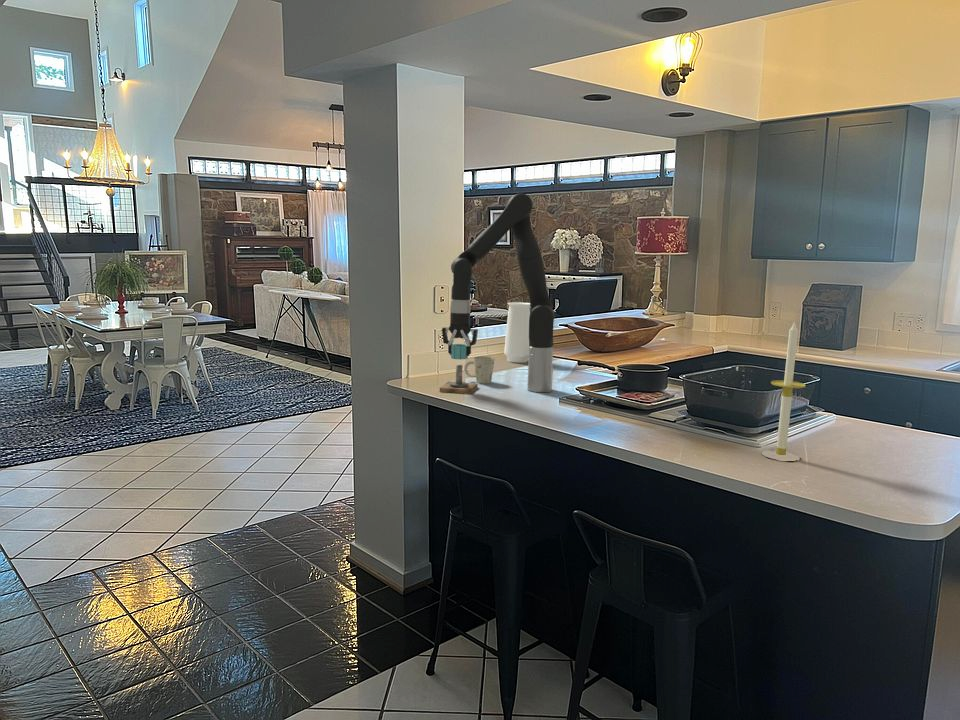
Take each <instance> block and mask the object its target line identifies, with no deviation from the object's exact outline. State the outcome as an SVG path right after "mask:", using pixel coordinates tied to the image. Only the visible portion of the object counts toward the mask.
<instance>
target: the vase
mask: <svg viewBox="0 0 960 720" xmlns="http://www.w3.org/2000/svg"><path fill="white" fill-rule="evenodd" d="M507 305H508V310H507V318H506V319H507V321H506V327H505V329H506V330H505V339H504V340H505V341H504V350H503V351H504V352H503V353H504V355H505V356H506V360H507V362H509V363H514V364H515V363H516V364H517V363H518V364H519V363H522V364H523V363H527V362H528V361H529V316H530V312H531V305H530V302H518V301H514V302H513V301H512V302H507Z"/></svg>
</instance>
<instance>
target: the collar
mask: <svg viewBox="0 0 960 720" xmlns="http://www.w3.org/2000/svg"><path fill="white" fill-rule="evenodd" d="M466 347H467V344H466V343H452V345H451V355H450V358H451V359H452V360H467V359H468V357H469V356H466Z"/></svg>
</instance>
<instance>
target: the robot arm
mask: <svg viewBox="0 0 960 720" xmlns="http://www.w3.org/2000/svg"><path fill="white" fill-rule="evenodd" d="M533 206H534V205H533V200H532V199H531V197H530V195H527V194H525V193H521V192H519V193H515V194H514V195H512V196H511V197H510V198H509V199H508V200H507V202H506V205H505V208H504V210H503V211H502V212H501V213H500V214H499V216H498V217H497V218H495V220H494V221H493V222H492V223H491V224H489V226H488V227H486V228H485V229H484V230H483V231H482V232H481V233H480V234H479V235H478V236H477V237H476V238H474V240H473V241H472V242H471V243H470V245H469V246H467V248H466V249H465V250H464V251H462V252H460V254H459V255H458V256H457V257H455V259H454V260H453V261H452V263H451V265H450V269H451V273H452V274H453V275H452V276H453V279H452V281H453V284H452V286H451V298H450V299H451V300H450V307H449V308H450V309H449V311H450V315H449V317H450V318H449V319H450V321H449V322H450V323H449V327H446V326H445V327H442V328H441V333H442V341H443V344H446V345H448V346H447V347H448V348H447V351H448V354H449V356H451V345H452V344H454V341H455V339H459V338H460V339H463V340H464V342H465V344H466V345H467V347H466V356H468V357H469V356H470V355H471V353H472V346H474V345H476V344H477V339H478V334H479V329H478V328H471V282H472V275H473V273H472V272H473V267H474V266H475V265H476V264H478V263H479V261H481V260H483V259H485V257H486V256H487V255H488V254H489V252H490V251H492V249H494V247H495V246H497V244H498V243H500V241H501V239H503V237H504V236H505V235H506V234H507V233H509V231H510V230H512V232H513V237H514V239H513V240H514V245H515V252H516V258H517V261H518V263H517V264H518V267H519V271H520V275H521V277H522V281H523V284H524V286H525V288H526V291H527V294H528V297H529V303H530V316H529V358H528V361H527V362H528V364H527V365H528V367H527V368H528V369H527V390H528V391H530V392H535V393H550V392H552V390H553V372H554V365H553V359H554V358H553V356H554V354H553V353H554V325H555V324H554V322H555V318H556V317H555V316H556V315H555V314H556V313H555V311H554V309H553V305H552V303H551V299H550V296H549V293H548V287H547V279H546V271H545V270H546V269H545V265H544V259H543V254H542V252H541V248H540V246H539V244H538V241H537V239H536V237H535V234H534V232H533V228H532V223H531V213H532V211H533ZM449 332H450V333H451V335H450V338H448V333H449ZM470 332H471V334H472V338H470V337H469V334H470ZM470 339H471V340H470Z"/></svg>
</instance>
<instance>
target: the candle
mask: <svg viewBox="0 0 960 720" xmlns="http://www.w3.org/2000/svg"><path fill="white" fill-rule="evenodd" d="M798 336H799V329H798V328H797V325H796V320H795V319H794V321H793V323H792V326H791V327H790V329H789V330H788V337H787V339H788V340H787V350H786V360H785V370H784V377H783V380H782V379H781V380H777V379H776V380H772V381H770V384H771V385H773V386H775V387H780V388H781V389H782V391H781V401H780V410H779V418H778V419H779V420H778V421H779V422H778V429H777V430H778V431H777V440H776V449H775V450H776V454H778V455H786V451H787V449H788V448H787V447H788V438H789V429H790V420H791V419H790V417H791V409H792V399H793V393H794V392H793V390H794V389H804V388H806V384H805V383H802V382H798V381H794V375H795V373H794V371H795V364H796V353H797V343H798Z"/></svg>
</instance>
